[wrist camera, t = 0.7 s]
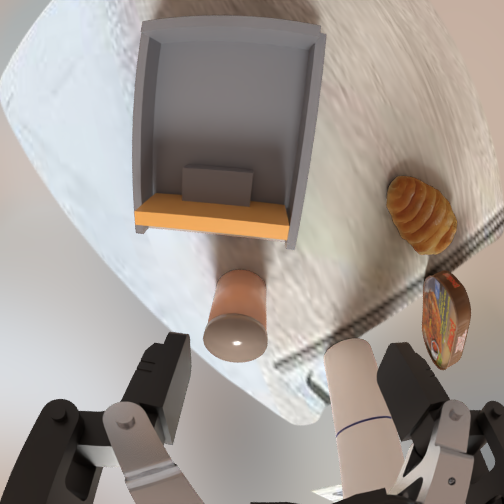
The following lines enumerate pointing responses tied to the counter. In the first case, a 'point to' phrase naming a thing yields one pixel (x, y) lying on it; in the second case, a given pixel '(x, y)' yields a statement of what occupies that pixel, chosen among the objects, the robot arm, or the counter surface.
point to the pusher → (215, 205)
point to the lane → (227, 106)
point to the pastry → (421, 215)
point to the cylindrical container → (361, 420)
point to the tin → (445, 318)
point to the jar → (237, 318)
